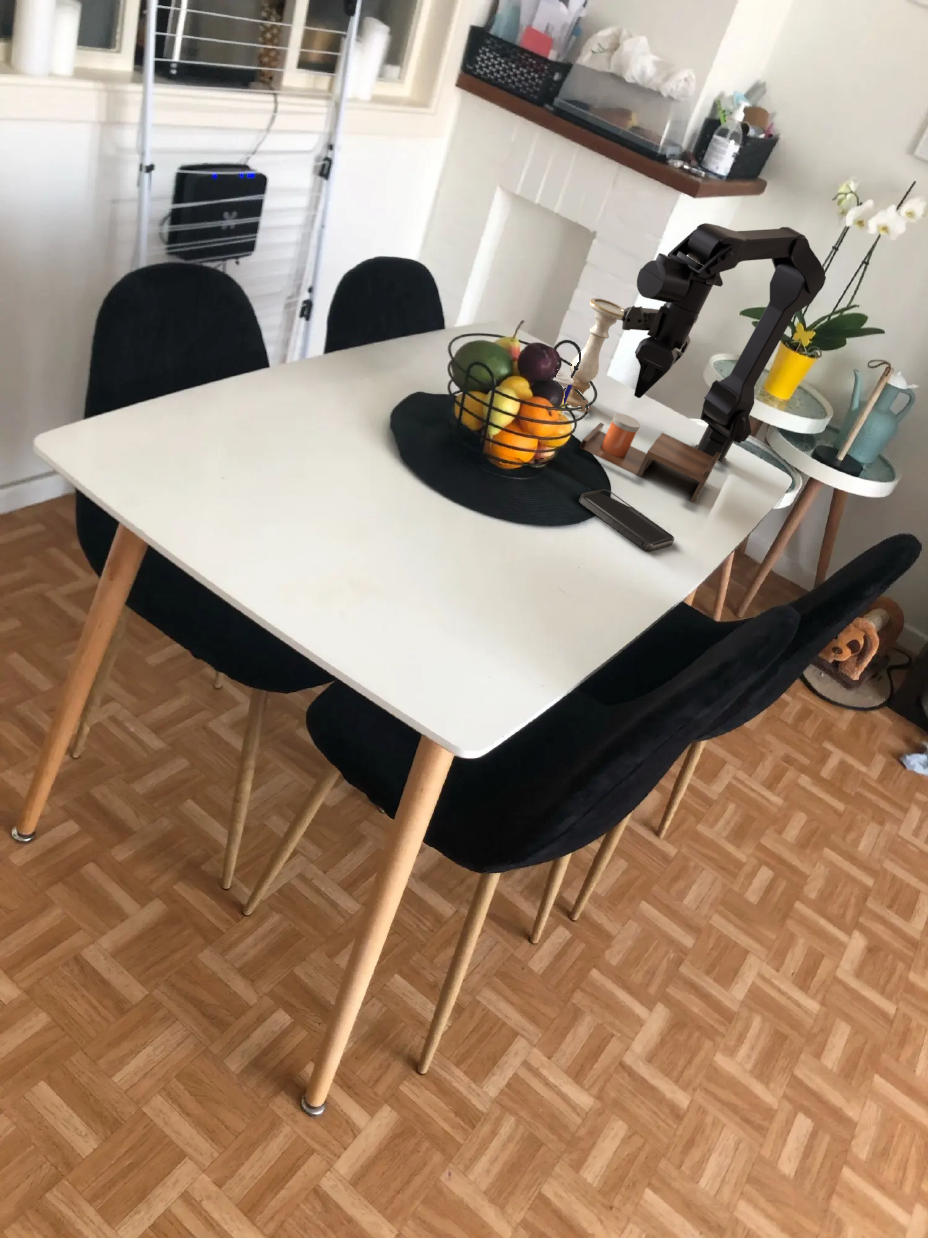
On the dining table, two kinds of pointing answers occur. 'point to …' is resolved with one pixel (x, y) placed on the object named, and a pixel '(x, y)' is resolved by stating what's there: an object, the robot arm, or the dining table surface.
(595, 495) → the phone
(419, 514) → the dining table surface
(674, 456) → the step rack
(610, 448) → the spice jar
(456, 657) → the dining table surface
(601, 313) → the candle holder
